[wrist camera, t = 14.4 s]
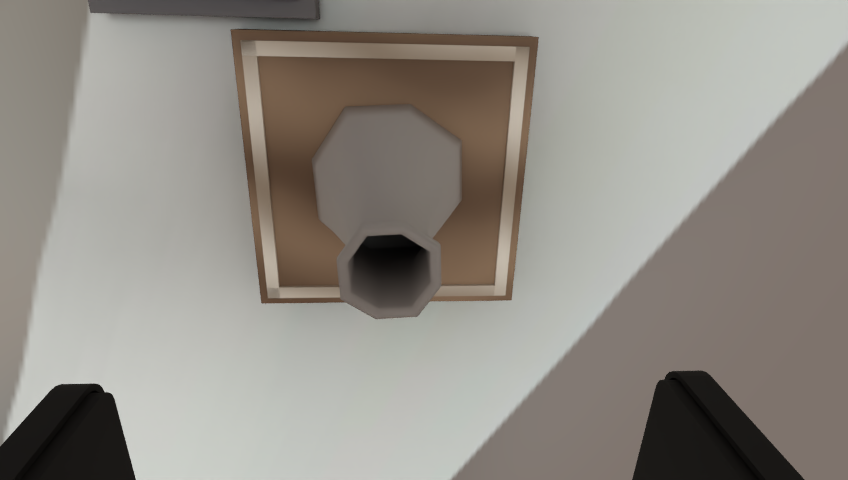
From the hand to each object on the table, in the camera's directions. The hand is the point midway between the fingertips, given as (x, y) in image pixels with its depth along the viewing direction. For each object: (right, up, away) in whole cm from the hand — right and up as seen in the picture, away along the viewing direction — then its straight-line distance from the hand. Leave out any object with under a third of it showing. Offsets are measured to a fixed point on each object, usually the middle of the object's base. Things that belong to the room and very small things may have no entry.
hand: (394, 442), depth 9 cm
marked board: (-1, +7, +17) cm, 18 cm away
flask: (-1, +7, +15) cm, 17 cm away
